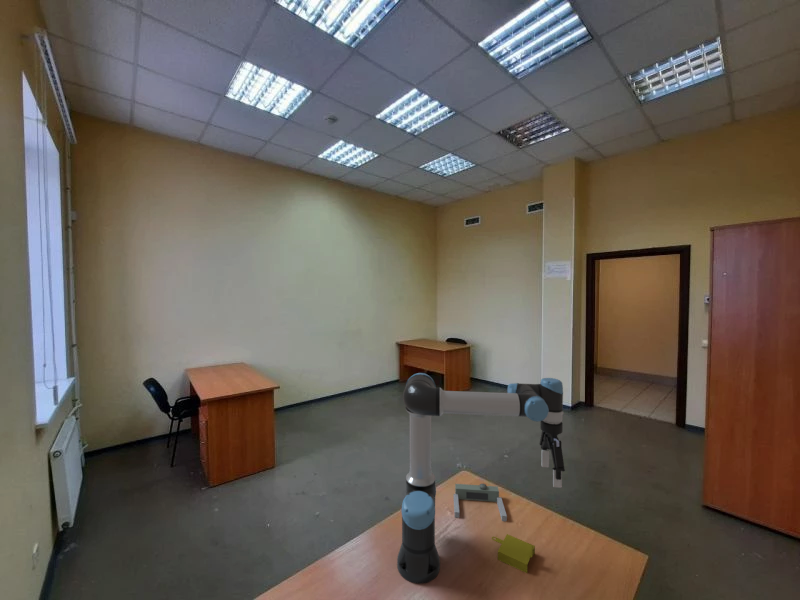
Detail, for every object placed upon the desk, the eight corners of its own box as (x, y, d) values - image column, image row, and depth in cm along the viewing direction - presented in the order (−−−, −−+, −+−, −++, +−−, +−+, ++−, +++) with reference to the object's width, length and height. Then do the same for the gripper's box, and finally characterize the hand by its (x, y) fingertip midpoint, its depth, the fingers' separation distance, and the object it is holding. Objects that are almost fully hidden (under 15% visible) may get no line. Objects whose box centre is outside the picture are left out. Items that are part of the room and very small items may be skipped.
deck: (454, 517, 144) (454, 503, 143) (453, 493, 160) (453, 481, 160) (506, 521, 141) (506, 507, 141) (499, 496, 158) (499, 484, 158)
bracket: (498, 516, 133) (538, 532, 124) (498, 535, 133) (537, 552, 124) (484, 540, 120) (526, 560, 111) (484, 561, 120) (526, 582, 112)
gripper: (575, 435, 111) (574, 497, 111) (550, 408, 135) (550, 459, 136) (552, 434, 111) (551, 495, 112) (531, 408, 136) (531, 458, 137)
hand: (550, 476), depth 124 cm, fingers open, 13 cm apart
